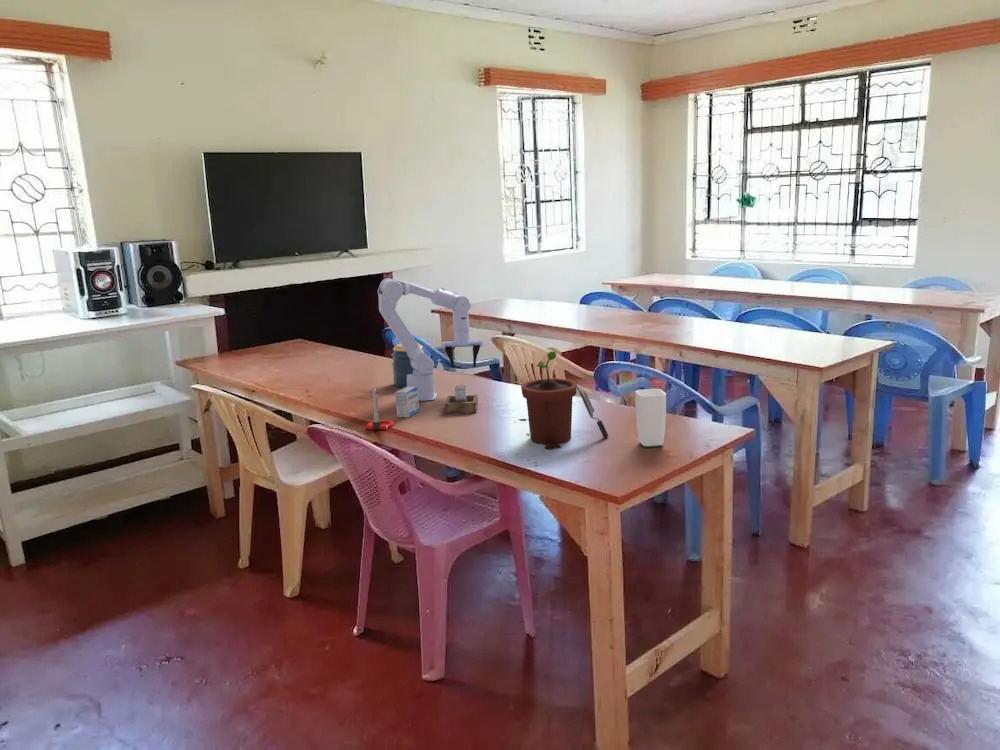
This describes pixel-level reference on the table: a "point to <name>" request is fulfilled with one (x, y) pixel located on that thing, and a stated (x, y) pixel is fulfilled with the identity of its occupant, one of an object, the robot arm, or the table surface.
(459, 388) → the grey two-tone block
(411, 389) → the medicine box
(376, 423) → the tow hook
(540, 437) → the potted plant
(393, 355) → the canister
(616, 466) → the table surface
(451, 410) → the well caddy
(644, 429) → the cup
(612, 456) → the table surface
